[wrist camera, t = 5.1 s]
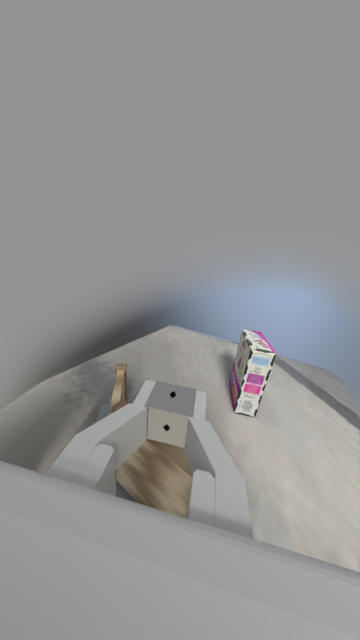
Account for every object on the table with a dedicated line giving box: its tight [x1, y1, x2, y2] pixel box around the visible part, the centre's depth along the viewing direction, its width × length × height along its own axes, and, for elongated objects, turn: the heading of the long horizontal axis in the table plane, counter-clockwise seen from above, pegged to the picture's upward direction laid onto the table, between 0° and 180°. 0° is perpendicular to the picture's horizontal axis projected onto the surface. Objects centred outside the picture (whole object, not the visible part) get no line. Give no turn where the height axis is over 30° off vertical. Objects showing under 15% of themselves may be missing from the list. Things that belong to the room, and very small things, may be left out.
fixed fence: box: [109, 364, 127, 477], centre depth 29 cm, size 13×2×11 cm, turn 12°
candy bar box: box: [230, 330, 276, 417], centre depth 40 cm, size 11×5×16 cm, turn 170°
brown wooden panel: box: [111, 399, 193, 518], centre depth 20 cm, size 12×2×14 cm, turn 57°
